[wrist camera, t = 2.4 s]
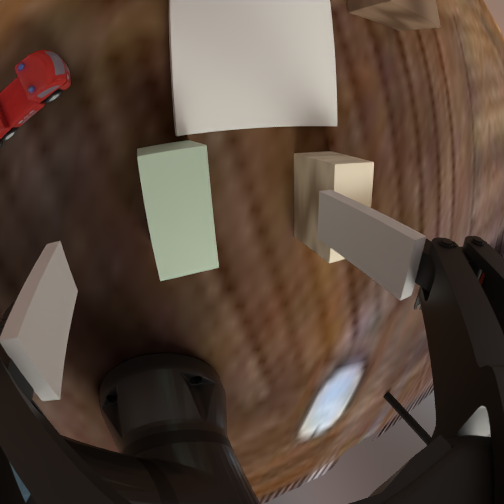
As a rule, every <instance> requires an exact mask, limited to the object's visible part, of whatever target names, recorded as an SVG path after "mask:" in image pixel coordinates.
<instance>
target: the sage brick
mask: <svg viewBox="0 0 504 504" xmlns="http://www.w3.org/2000/svg"><path fill="white" fill-rule="evenodd" d="M137 159H138V167H139V174H140V180H141V187H142V193H143V199H144V205H145V210H146V216H147V221H148V227H149V232H150V237H151V242H152V246H153V251H154V256H155V260H156V265H157V269H158V273H159V277H160V281H163V280H168V279H172V278H176V277H181V276H185V275H189V274H194V273H198V272H202V271H206V270H211V269H215V268H219V264H218V255H217V246H216V237H215V228H214V219H213V209H212V199H211V189H210V178H209V167H208V156H207V145H204V144H200V143H197V142H194V141H190V140H186V141H179V142H172V143H166V144H160V145H154V146H149V147H143V148H138V149H137Z"/></svg>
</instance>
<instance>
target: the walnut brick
mask: <svg viewBox="0 0 504 504" xmlns="http://www.w3.org/2000/svg"><path fill="white" fill-rule="evenodd" d="M347 7H348V13H351V14H354V15H357V16H360V17H363V18H366V19H369V20H372V21H375V22H378V23H380V24H383V25H386V26H388V27H391V28H393V29H396V30H398V31H406V30H415V29H426V28H440V21H439V15H438V10H437V5H436V0H347Z"/></svg>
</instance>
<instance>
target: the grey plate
mask: <svg viewBox="0 0 504 504" xmlns="http://www.w3.org/2000/svg"><path fill="white" fill-rule="evenodd" d="M169 47H170V69H171V86H172V101H173V114H174V126H175V136H181V135H188V134H196V133H204V132H213V131H223V130H234V129H247V128H262V127H286V126H337V89H336V67H335V51H334V37H333V26H332V16H331V7H330V0H169Z"/></svg>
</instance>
